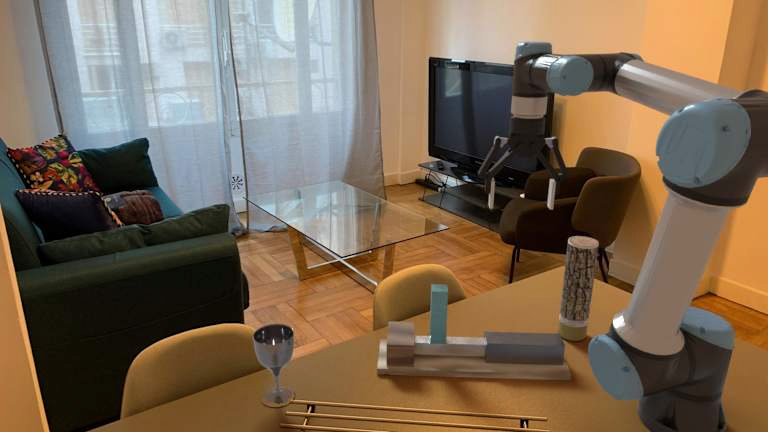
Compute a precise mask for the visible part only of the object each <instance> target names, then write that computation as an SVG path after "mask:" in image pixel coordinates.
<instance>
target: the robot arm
mask: <svg viewBox="0 0 768 432" xmlns="http://www.w3.org/2000/svg"><path fill="white" fill-rule="evenodd" d="M512 76H513V77H512V78H513V79H512V96H511V97H512V98H511V105H510V106H511V107H510V113H511V114H512V115H511V116H510V119H509V120H510V121H509V132H508V133H509V134H508V136H507V137H500V136H499V135H495V136H494V139H493V145H492V146H491V148H490V150H489V152H488V153H487V155H486V157H485V158H484V161H483V162H482V164H481V166H480V167H479V169H478V170H477V175H478V177H479V178H481V179H484V182H485V183H484V192H485V194H486V195H488V203H487V205H488V207H489V210H490V209H491V210H492V209H494V202H495V201H494V200H495V188H496V187H495V186H496V184H495V183H496V181H495V176H497V174H498V173H500V171H501V170H502V169H504V168H505V166H506V165H507V164H508V163H509V162H510V161H511V160H513V159H514V157H516V158H518V159H521V158H522V159H523V158H528V159H533V158H535V157H536V156H537V158H538V160H540V162H541V163H542V165H543V166H544V167H545V168H546V170H547V171H548V172H549V174H550V175H551V177H552V178H550V179H549V185H548V194H547V202H546V203H547V208H548V209H549V210H554V205H555V196H556V195H557V196H558V195H559V194H560V191H561V190H560V189H561V183H562V182H563V180H568V179H570V178H571V177H570V174H569V171H568V168H567V166H566V163H565V161H564V158H563V156H562V154H561V151H560V148H559V139H558V138H557V137H556V136H553V135H552V136H551V137H546V138H545V130H546V128H545V127H546V118H545V115H546V114H547V108H548V107H547V105H548V97H549V93H553V94H556V95H559V96H563V97H567V96H568V97H569V96H570V97H577V96H580V95H582V94H583V93H599V92H602V93H603V92H609V93H611V94H614V95H616V96H619V97H622V98H624V99H627V100H629V101H632V102H634V103H637V104H640V105H642V106H644V107H647V108H649V109H652V110H655V111H657V112H659V113H662V114H664V115H667V116H669V117H668V118H667V120H666V121H665V122H664V123H663V125H662V127H661V129H660V131H659V133H658V136H657V139H656V145H655V156H656V157H658V160H657V162H656V163H657V164H656V165H657V166H658V168H659V171H660V173H661V175H662V178H661V183H662V185H663V186H664V188H665V189H666V191H667V196H666V198H665V202H664V205H663V208H662V209H661V213H660V216H659V219H658V220H657V224H656V227H655V229H654V232H653V235H652V238H651V241H650V243H649V246H648V249H647V252H646V255H645V257H644V261H643V263H642V266H641V269H640V271H639V273H638V277H637V279H636V282H635V285H634V288H633V291H632V293H631V296H630V299H629V301H628V305H627V306H626V308H623V309H621V310H619V311H617V312H616V313H615V315H614V316H613V319H612V321H611V324H610V327H609V329H608V331H607V333H606V334H603V333H601V334H597V336H595V337H593V338H592V339H591V340H590V342H589V344H588V348H587V349H588V350H587V356H588V362H589V366H590V368H591V373H593V376H594V378H595V380H596V382H597V383H598V385H599V386H600V387H601V389H602V390H603V391H604V392H605V393H606V394H607V395H609V396H610V397H612V398H614V399H615V400H618V401H621V402H622V401H623V402H626V401H631V400H636V401H638V400H639V401H638V407H637V414H638V417H639V419H640V421H641V422H642V423H643V424H644V426H646V428H648V429H649V430H650V431H651V432H725V431H726V428H727V421H726V415H725V410H724V404H723V398H722V396H723V392H724V389H725V385H726V380H727V375H728V372H729V371H728V370H729V368H730V362H731V358H732V354H733V350H735V340H736V339H735V338H736V332H735V329H734V327H733V326H732V324H731V323H730V322H729V321H727V320H726V319H725V318H724V317H721V316H719V314H716V313H714V312H712V311H708V310H706V309H702V308H699V307H695V306H691V303H692V301H693V299H694V296H695V294H696V292H697V290H698V288H699V285H700V283H701V280H702V278H703V276H704V273H705V271H706V268H707V266H708V264H709V261H710V259H711V258H712V256H713V255H712V254H713V252H714V250H715V247H716V245H717V242H718V240H719V238H720V235H721V234H722V231H723V229H724V226H725V225H726V222H727V219H728V217H729V214H730V213H731V211H732V210H735V209H740V208H742V207H744V206H745V205H746V204H747V203H748V201H749V198H750V197H751V194H752V192H753V190H754V187H755V186H756V183H757V182H758V181H757V180H758V179H762V178H768V91H765V90H762V89H759V88H751V89H746V90H745V91H742V90H738V89H735V88H732V87H729V86H725V85H722V84H718V83H715V82H712V81H709V80H705V79H701V78H700V77H699V78H698V77H695V76H693V75H689V74H686V73H682V72H679V71H676V70H673V69H669V68H666V67H663V66H659V65H656V64H652V63H650V62H647V61H645V60H644V59H643V57H642V56H641V55H639V54H637V53H633V52H621V51H620V52H616V53H615V52H614V53H613V52H612V53H584V54H582V53H579V54H576V53H575V54H571V53H570V54H561V53H553V45H552V43H550V42H549V41H547V42H546V41H522V42H519V43H518V44H517V45H516V47H515V55H514V60H513V75H512ZM505 144H507V146H508V147H509V148H508V149H507V151H505V153H504V154H503V156H501V157H500V159H499V160H498V161H497V162H496V163H495V164H494V165H493V166H491V165H492V163H493V161H494V160H495V158H496V156H497V155H498V153H499V152H500V148H503V147H504V145H505ZM545 145H547V146H548V148H550V149H551V152H552V154H553V156H554V160H555V162H556V164H557V166H558V167H557V168H558V169H559V171H560V172H559V173H558V172H557V171H556V169H555V168H554V167H553V166H552V165H553V164H551V163H550V162H549V160H548V159H547V158H546V157H545V155H544V154H543V152H542V151H541V150H542V149H543V148H544V146H545ZM490 166H491V168H490Z"/></svg>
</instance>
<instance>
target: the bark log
mask: <svg viewBox="0 0 768 432" xmlns="http://www.w3.org/2000/svg"><path fill="white" fill-rule="evenodd" d="M599 244H600V243H599V241H598V240H597V239H595V238H592V237H590V236H585V235H584V236H582V235H575V236H571V237H569V238H568V239H567V248H566V256H565V263H564V264H565V265H564V271H563V272H564V274H563V282H562V289H561V300H560V308H559V316H558V327H557V334H560V335H561V337H562V339H565V340H567V341H571V342H579V341H583V340H584V339H586V337H587V333H588V328H589V327H588V325H589V319H590V311H591V303H592V299H593V298H592V296H593V289H594V288H593V287H594V282H595V275H596V268H597V259H598V251H599Z"/></svg>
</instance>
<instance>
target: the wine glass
mask: <svg viewBox="0 0 768 432" xmlns="http://www.w3.org/2000/svg"><path fill="white" fill-rule="evenodd" d="M252 339H253V346H254V351H255V356H256V357H257V360H258V362H259V363H260V365H261V366H263V367H264V368H265V369H266V370H269V371H270V373H271V374H272V376H273V378H274V379H273V380H274V383H275V385H274V387H275V388H273V387H271V388H272V389H271V390H268V389H267V390H268V391H267V392H266V393H265V395H264V396H265V397H264V398H265V399H266V400H267V401H268V402H270V403H271V402H272V403H273V402H274V403H277V404H280V403H284V402H287V401H288V398H290V397H291V395H292V392H291V391H290V389H289V388H290V387H288V388H284V387H285V386H284V387H279V386H280V374H281V372H282V370H283V369H284V368H285V367H286V366H287V365H288V364H289V362H290V361H291V359H292V358H293V354H294V351H295V350H294V347H295V332H294V330H293V328H292V327H291V326H289V325H287V324H283V323H270V324H266V325H263V326H260V327H258V328H257V329H256V330H255V331H254V332H253V336H252ZM290 399H291V398H290Z"/></svg>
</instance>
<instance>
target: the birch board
mask: <svg viewBox="0 0 768 432" xmlns="http://www.w3.org/2000/svg"><path fill="white" fill-rule="evenodd" d="M567 363H568V362H566V359H565V358H564V359H563V365H538V364H506V363H485V358H484V356H454V355H421V354H414V367H395V366H387V338H385V339H383V338H382V339H381V338H380V341H379V350H378V358H377V368H376V375H381V374H389V375H390V376H418V377H443V378H445V377H448V378H473V379H474V378H476V379H478V378H479V379H480V378H482V379H506V380H507V379H509V380H511V379H512V380H535V381H536V380H538V381H541V380H542V381H572V372H571V371H570V368H569V366H568V364H567ZM389 375H388V376H389Z"/></svg>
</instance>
